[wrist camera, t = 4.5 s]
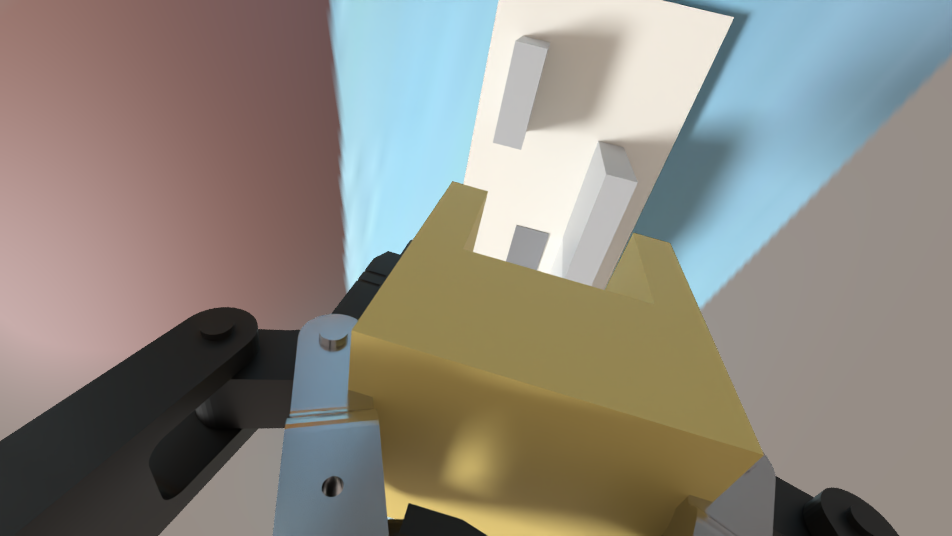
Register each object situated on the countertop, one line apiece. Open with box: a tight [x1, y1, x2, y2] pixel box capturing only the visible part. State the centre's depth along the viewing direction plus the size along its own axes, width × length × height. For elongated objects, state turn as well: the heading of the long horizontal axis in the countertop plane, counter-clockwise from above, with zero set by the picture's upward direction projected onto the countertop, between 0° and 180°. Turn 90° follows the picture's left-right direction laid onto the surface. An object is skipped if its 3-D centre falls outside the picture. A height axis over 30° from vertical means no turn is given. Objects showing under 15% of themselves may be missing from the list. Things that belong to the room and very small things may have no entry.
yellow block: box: [348, 181, 764, 536], centre depth 10 cm, size 5×6×6 cm
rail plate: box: [464, 0, 734, 290], centre depth 25 cm, size 24×12×8 cm, turn 168°
